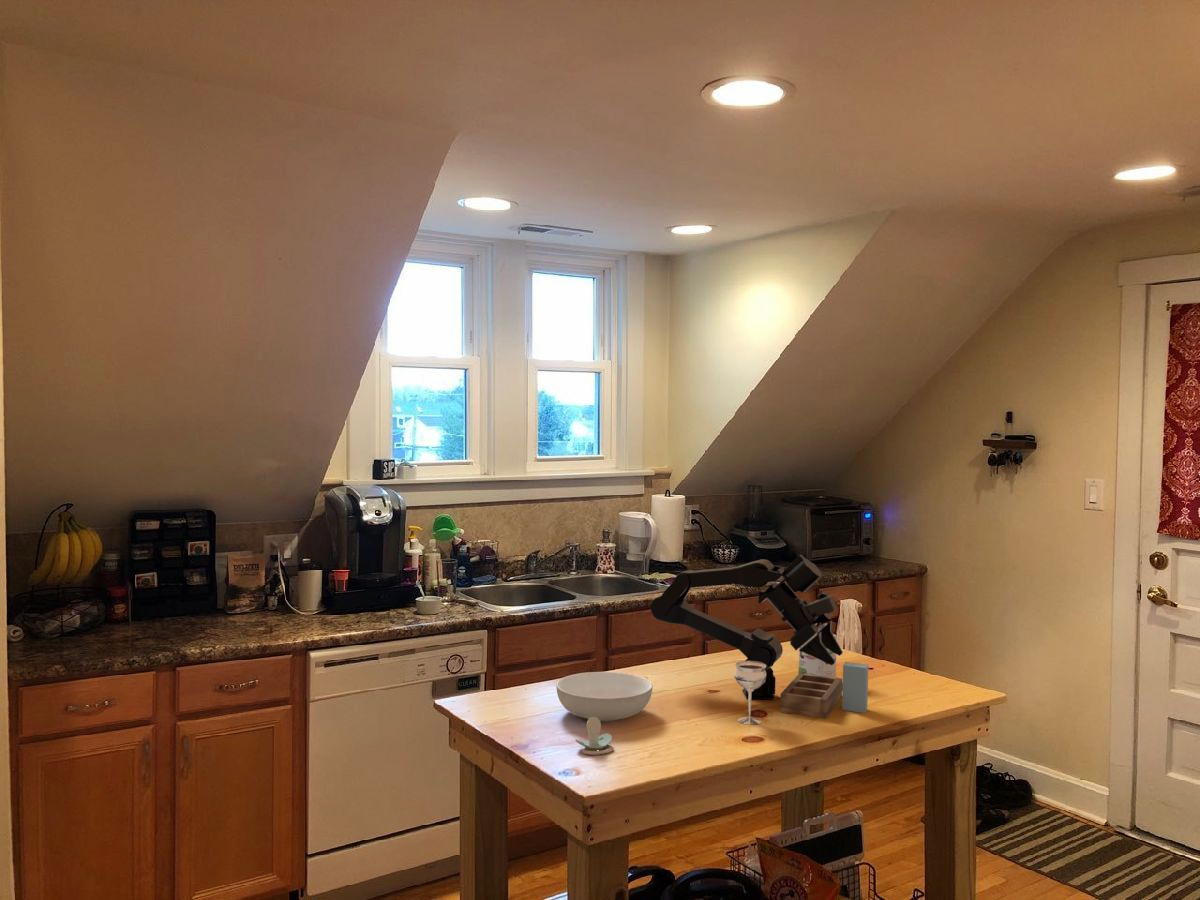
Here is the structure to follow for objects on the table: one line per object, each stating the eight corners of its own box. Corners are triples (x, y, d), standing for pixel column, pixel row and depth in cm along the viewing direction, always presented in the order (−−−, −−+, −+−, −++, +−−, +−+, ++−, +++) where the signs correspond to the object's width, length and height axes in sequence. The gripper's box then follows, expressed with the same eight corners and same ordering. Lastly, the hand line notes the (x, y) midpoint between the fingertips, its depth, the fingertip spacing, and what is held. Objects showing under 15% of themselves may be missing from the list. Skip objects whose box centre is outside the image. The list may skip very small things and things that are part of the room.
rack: (780, 711, 204) (780, 693, 204) (799, 689, 221) (799, 672, 221) (825, 718, 200) (826, 700, 200) (841, 695, 217) (842, 678, 217)
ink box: (797, 676, 232) (798, 630, 232) (811, 674, 235) (812, 628, 234) (822, 685, 225) (823, 637, 224) (836, 682, 228) (837, 634, 227)
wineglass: (754, 728, 193) (755, 671, 193) (727, 721, 197) (728, 665, 197) (771, 720, 198) (772, 664, 198) (744, 713, 203) (745, 659, 202)
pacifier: (619, 753, 178) (604, 742, 184) (621, 721, 178) (605, 711, 183) (586, 759, 175) (571, 748, 180) (587, 727, 174) (572, 717, 180)
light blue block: (842, 709, 206) (843, 665, 206) (844, 706, 209) (845, 662, 209) (865, 713, 204) (866, 667, 204) (867, 709, 207) (868, 664, 207)
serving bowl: (661, 705, 208) (661, 674, 208) (639, 735, 188) (640, 702, 187) (572, 696, 213) (572, 666, 213) (542, 725, 193) (542, 692, 193)
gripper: (806, 589, 201) (857, 645, 197) (823, 576, 218) (870, 628, 214) (769, 621, 205) (818, 677, 200) (789, 606, 222) (835, 657, 217)
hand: (837, 659), depth 208 cm, fingers open, 9 cm apart
